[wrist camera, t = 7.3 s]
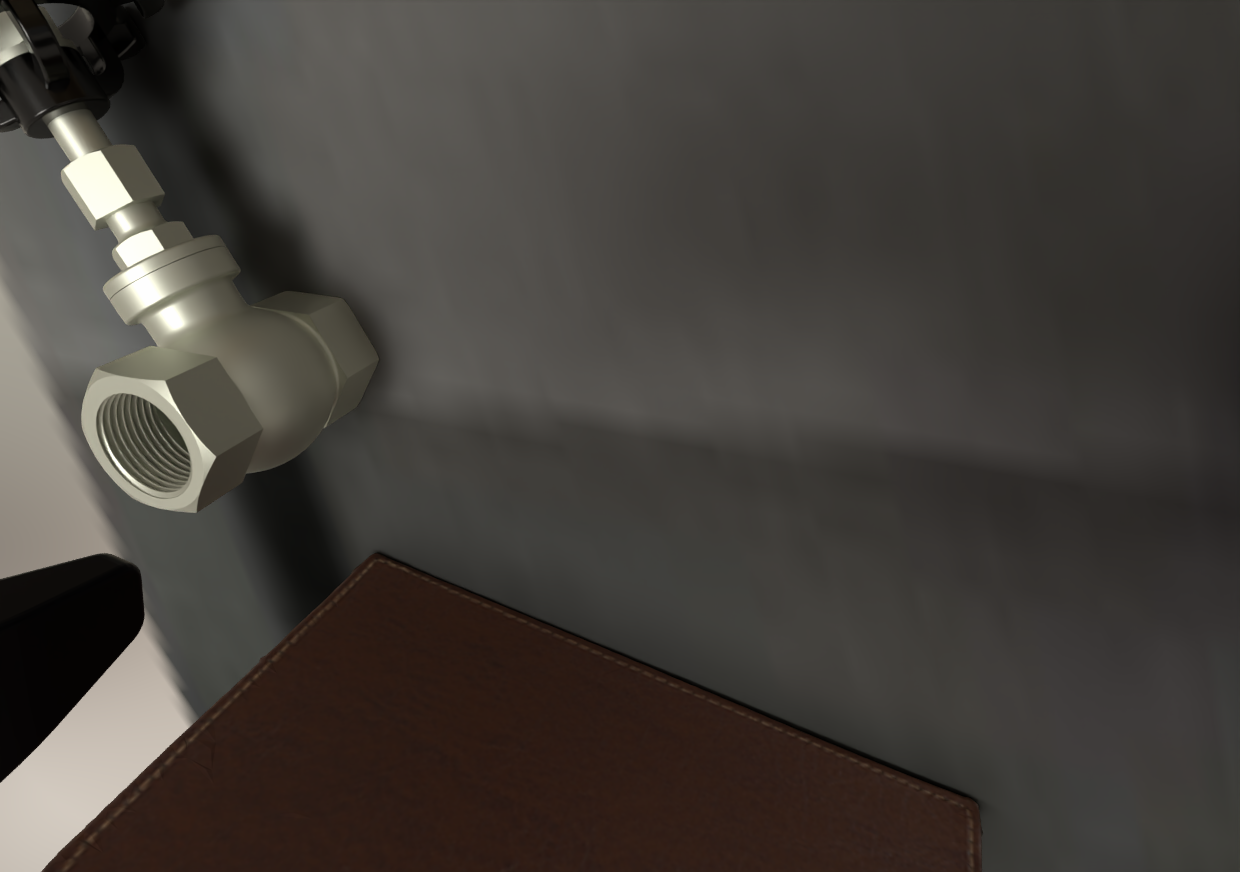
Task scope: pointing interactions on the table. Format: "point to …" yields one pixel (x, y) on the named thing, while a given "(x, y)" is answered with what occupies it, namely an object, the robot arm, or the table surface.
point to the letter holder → (501, 762)
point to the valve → (173, 289)
